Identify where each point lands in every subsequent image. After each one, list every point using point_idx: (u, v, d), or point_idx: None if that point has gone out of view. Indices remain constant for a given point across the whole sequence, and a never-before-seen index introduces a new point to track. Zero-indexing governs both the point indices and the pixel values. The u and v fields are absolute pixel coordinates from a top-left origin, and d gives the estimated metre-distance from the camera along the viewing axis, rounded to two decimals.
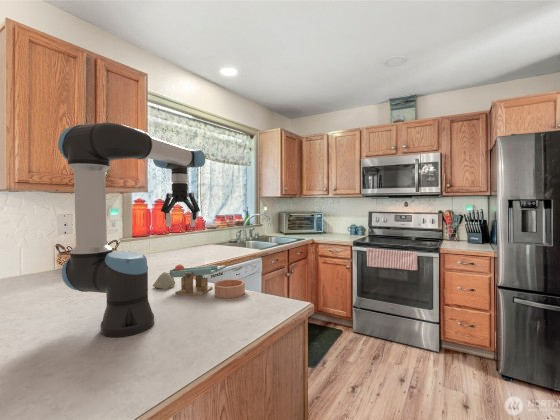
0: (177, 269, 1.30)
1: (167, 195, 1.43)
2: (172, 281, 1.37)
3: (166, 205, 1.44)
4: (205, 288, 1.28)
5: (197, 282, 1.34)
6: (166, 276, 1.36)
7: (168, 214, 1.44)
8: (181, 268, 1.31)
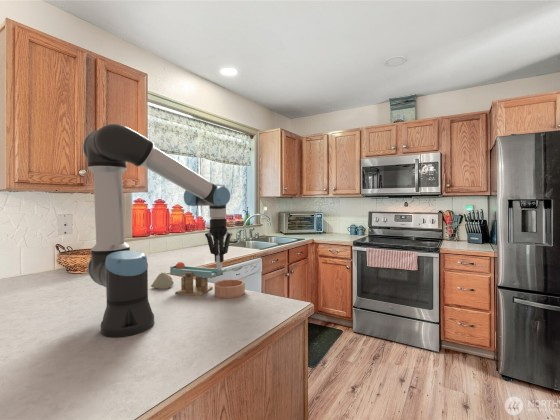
0: (178, 267, 1.30)
1: (206, 235, 1.35)
2: (170, 281, 1.37)
3: (212, 245, 1.35)
4: (205, 288, 1.28)
5: (197, 282, 1.34)
6: (164, 276, 1.35)
7: None
8: (182, 266, 1.31)
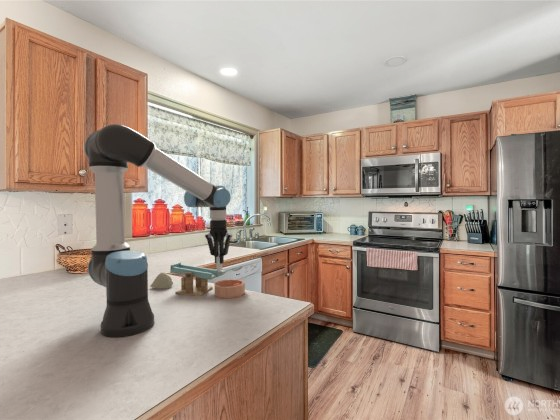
0: None
1: (206, 236, 1.35)
2: (170, 281, 1.37)
3: (212, 246, 1.35)
4: (205, 288, 1.28)
5: (197, 282, 1.34)
6: (163, 276, 1.35)
7: None
8: None
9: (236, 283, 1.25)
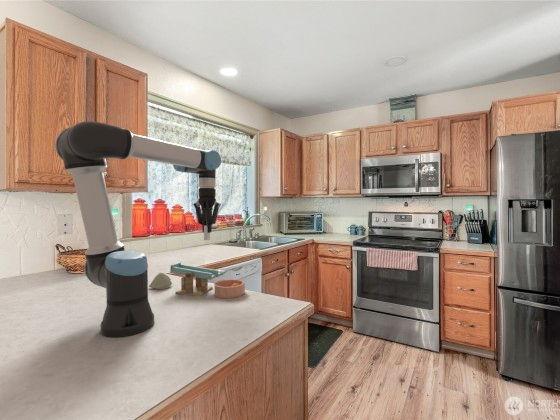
0: None
1: (195, 205, 1.33)
2: (168, 281, 1.36)
3: (200, 215, 1.33)
4: (205, 288, 1.28)
5: (197, 282, 1.34)
6: (162, 276, 1.35)
7: None
8: None
9: None
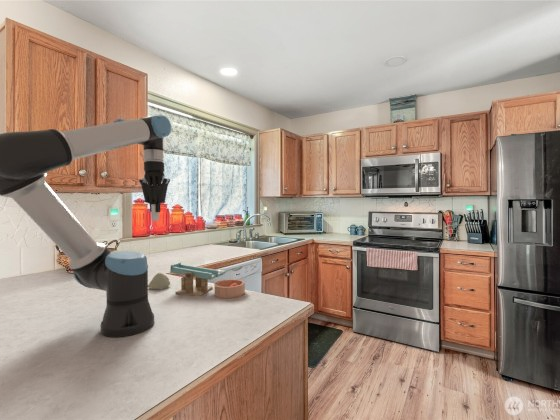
0: None
1: (141, 181, 1.17)
2: (167, 282, 1.36)
3: (147, 193, 1.18)
4: (205, 288, 1.28)
5: (197, 282, 1.34)
6: (160, 277, 1.35)
7: None
8: None
9: (231, 284, 1.26)
